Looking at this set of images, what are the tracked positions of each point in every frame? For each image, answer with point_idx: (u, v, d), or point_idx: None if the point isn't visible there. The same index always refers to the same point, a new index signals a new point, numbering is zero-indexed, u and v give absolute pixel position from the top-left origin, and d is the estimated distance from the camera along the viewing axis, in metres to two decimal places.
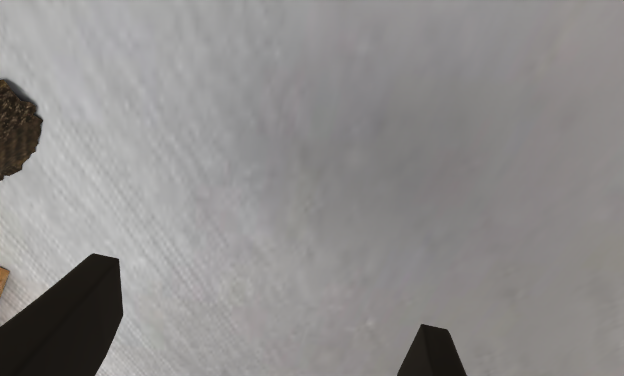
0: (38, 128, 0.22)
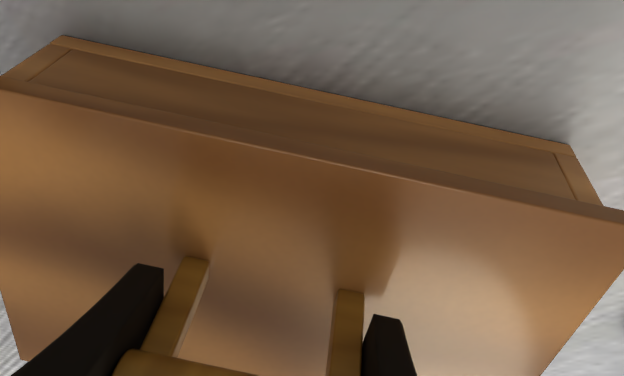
0: None
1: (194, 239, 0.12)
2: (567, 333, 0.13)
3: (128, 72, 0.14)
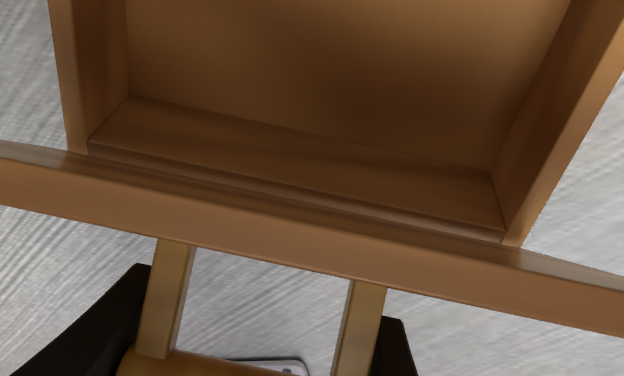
0: None
1: None
2: None
3: None
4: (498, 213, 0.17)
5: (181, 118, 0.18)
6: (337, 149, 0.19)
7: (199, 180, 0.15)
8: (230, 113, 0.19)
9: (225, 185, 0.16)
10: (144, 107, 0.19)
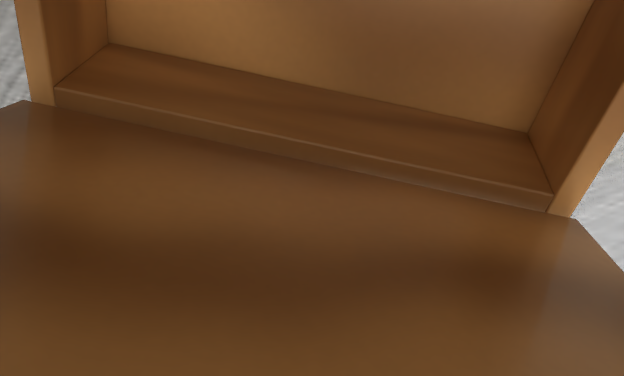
0: None
1: None
2: None
3: None
4: (543, 176, 0.14)
5: (168, 68, 0.16)
6: (351, 105, 0.16)
7: (180, 158, 0.12)
8: (225, 64, 0.16)
9: (214, 154, 0.13)
10: (124, 56, 0.16)
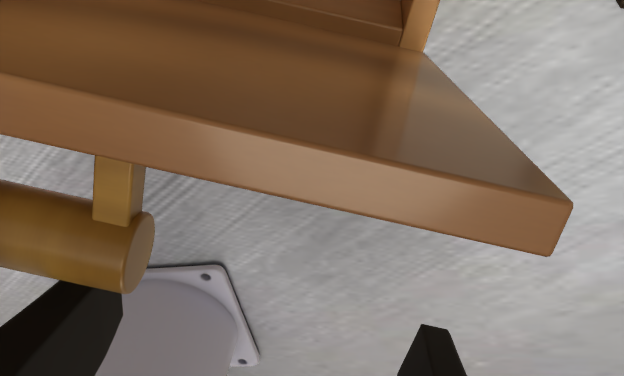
0: None
1: None
2: None
3: None
4: (398, 17, 0.15)
5: None
6: None
7: None
8: None
9: None
10: None
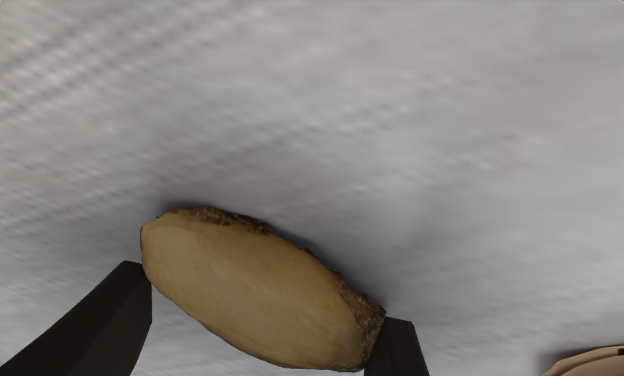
0: None
1: None
2: None
3: None
4: None
5: None
6: None
7: None
8: None
9: None
10: None
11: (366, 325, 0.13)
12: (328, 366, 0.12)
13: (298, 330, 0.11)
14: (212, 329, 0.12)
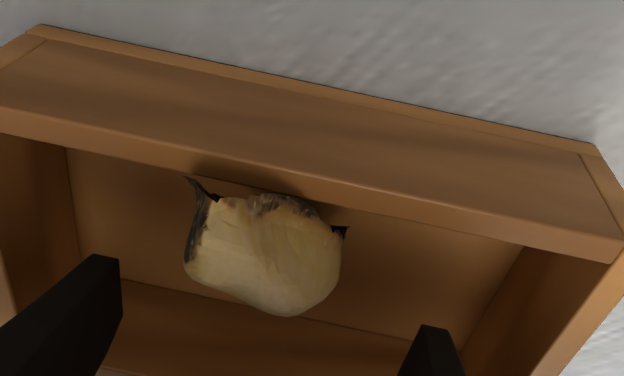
0: None
1: None
2: None
3: (110, 64, 0.13)
4: None
5: (134, 304, 0.17)
6: (299, 335, 0.18)
7: None
8: (188, 291, 0.18)
9: None
10: None
11: None
12: None
13: None
14: None
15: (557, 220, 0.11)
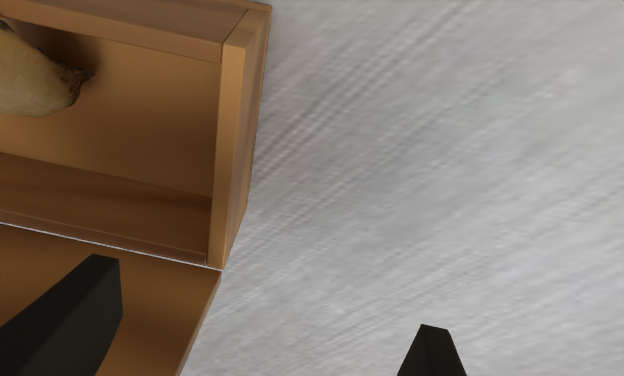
0: None
1: None
2: None
3: None
4: (209, 239, 0.21)
5: None
6: (93, 183, 0.22)
7: None
8: (7, 152, 0.23)
9: None
10: None
11: (78, 85, 0.18)
12: (43, 116, 0.18)
13: (24, 107, 0.16)
14: None
15: (176, 30, 0.15)
